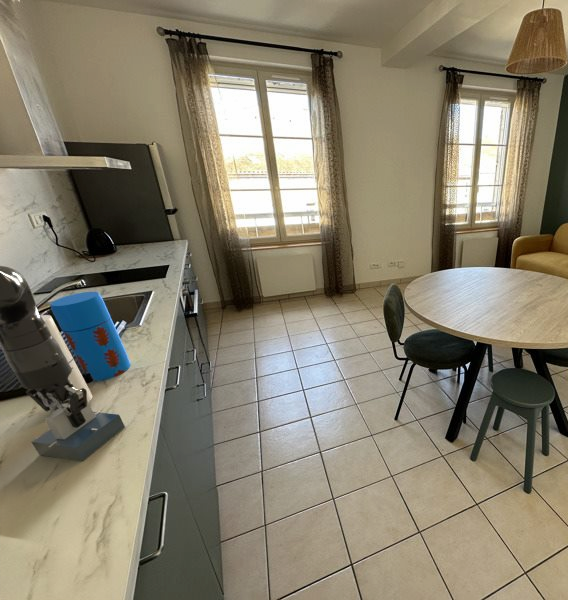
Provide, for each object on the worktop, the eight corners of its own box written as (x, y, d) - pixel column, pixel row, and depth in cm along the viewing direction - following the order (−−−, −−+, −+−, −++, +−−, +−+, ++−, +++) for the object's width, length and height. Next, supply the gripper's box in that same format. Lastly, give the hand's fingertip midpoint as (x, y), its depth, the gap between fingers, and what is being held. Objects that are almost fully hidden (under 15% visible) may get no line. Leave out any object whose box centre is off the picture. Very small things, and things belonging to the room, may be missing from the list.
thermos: (101, 384, 97) (62, 308, 87) (79, 377, 100) (40, 303, 90) (139, 364, 106) (108, 293, 96) (118, 358, 110) (86, 289, 100)
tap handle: (64, 439, 72) (50, 417, 69) (56, 438, 72) (42, 417, 70) (96, 416, 78) (85, 396, 76) (88, 416, 79) (77, 395, 76)
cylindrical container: (97, 391, 94) (57, 313, 84) (84, 407, 88) (39, 325, 78) (67, 397, 92) (22, 318, 82) (51, 414, 86) (1, 330, 76)
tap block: (36, 457, 73) (27, 443, 71) (88, 420, 83) (81, 407, 81) (80, 463, 71) (71, 449, 69) (127, 425, 81) (121, 412, 79)
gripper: (-11, 369, 66) (31, 433, 73) (44, 373, 63) (82, 440, 70) (33, 349, 73) (68, 410, 79) (84, 352, 70) (115, 415, 77)
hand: (74, 424), depth 75 cm, fingers closed
